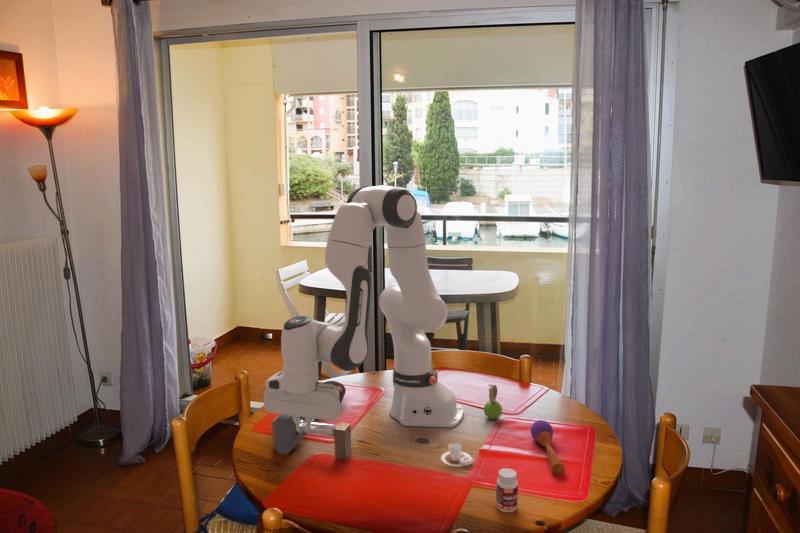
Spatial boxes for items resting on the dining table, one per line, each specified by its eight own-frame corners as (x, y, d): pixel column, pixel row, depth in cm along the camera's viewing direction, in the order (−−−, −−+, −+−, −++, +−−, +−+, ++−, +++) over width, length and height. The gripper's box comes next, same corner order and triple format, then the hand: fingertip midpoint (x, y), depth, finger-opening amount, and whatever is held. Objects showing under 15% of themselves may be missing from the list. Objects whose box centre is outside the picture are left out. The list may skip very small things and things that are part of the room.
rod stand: (351, 453, 156) (350, 423, 155) (345, 460, 153) (344, 430, 151) (280, 443, 162) (278, 414, 161) (273, 450, 159) (271, 420, 157)
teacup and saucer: (477, 467, 150) (477, 452, 149) (448, 472, 148) (448, 457, 147) (464, 450, 158) (464, 436, 157) (436, 455, 156) (436, 440, 155)
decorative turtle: (307, 414, 180) (305, 389, 179) (324, 397, 194) (323, 374, 193) (336, 415, 177) (335, 390, 176) (352, 398, 192) (350, 375, 191)
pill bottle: (504, 515, 129) (505, 480, 128) (491, 503, 133) (492, 470, 132) (521, 509, 131) (522, 475, 130) (509, 498, 135) (510, 465, 134)
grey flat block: (310, 429, 165) (309, 399, 163) (287, 454, 151) (285, 421, 150) (300, 428, 165) (299, 398, 164) (277, 452, 152) (275, 420, 150)
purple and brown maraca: (544, 461, 144) (527, 418, 163) (547, 481, 146) (530, 436, 165) (568, 456, 144) (548, 414, 163) (571, 477, 145) (551, 433, 165)
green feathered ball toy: (480, 422, 173) (481, 383, 171) (486, 413, 179) (486, 375, 177) (499, 424, 171) (499, 386, 169) (503, 415, 177) (504, 378, 175)
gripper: (343, 379, 148) (345, 430, 151) (271, 372, 154) (274, 420, 157) (334, 389, 143) (336, 441, 145) (259, 381, 148) (262, 431, 151)
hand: (303, 430), depth 151 cm, fingers closed
